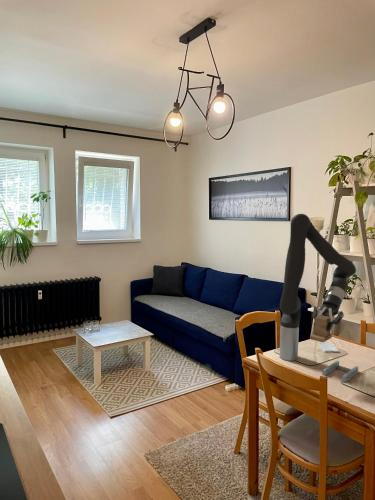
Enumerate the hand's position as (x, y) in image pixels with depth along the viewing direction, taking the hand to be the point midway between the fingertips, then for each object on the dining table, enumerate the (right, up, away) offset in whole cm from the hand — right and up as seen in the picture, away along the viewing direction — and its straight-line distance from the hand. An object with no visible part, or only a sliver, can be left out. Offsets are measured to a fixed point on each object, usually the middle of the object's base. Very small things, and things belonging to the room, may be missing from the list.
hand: (321, 328), depth 164 cm
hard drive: (+19, -21, +42) cm, 51 cm away
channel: (+13, -23, +10) cm, 28 cm away
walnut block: (0, -4, +1) cm, 4 cm away
